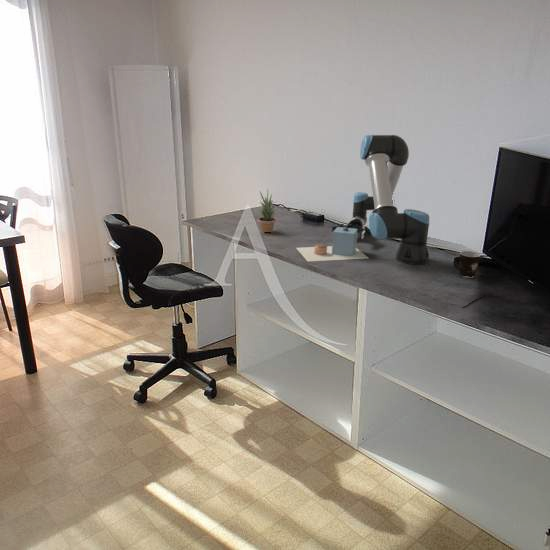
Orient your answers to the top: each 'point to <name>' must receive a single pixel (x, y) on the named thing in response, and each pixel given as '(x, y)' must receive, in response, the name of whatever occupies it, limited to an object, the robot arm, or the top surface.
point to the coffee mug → (468, 263)
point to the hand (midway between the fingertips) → (348, 235)
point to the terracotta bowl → (320, 250)
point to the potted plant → (267, 215)
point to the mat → (328, 254)
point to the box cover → (344, 241)
